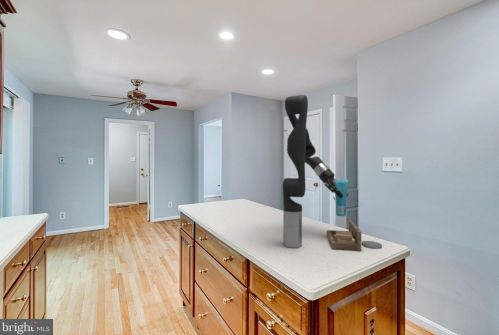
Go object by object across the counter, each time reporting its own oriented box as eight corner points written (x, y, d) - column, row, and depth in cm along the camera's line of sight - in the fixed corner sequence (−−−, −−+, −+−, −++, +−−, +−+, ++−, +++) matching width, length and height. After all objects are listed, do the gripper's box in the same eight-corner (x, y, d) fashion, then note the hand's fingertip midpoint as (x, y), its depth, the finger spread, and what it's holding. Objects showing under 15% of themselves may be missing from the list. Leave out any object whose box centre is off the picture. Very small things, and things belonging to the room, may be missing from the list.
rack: (361, 251, 116) (361, 232, 116) (331, 249, 119) (332, 230, 118) (351, 236, 137) (351, 220, 137) (326, 235, 140) (327, 219, 139)
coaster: (384, 249, 118) (384, 247, 118) (364, 248, 120) (364, 246, 120) (378, 243, 127) (378, 241, 127) (359, 241, 129) (359, 240, 129)
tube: (345, 214, 135) (346, 179, 135) (349, 216, 130) (350, 179, 130) (332, 214, 135) (332, 179, 134) (336, 216, 130) (336, 179, 129)
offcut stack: (355, 249, 119) (355, 236, 118) (336, 248, 120) (336, 235, 120) (351, 243, 127) (351, 231, 127) (333, 242, 129) (333, 230, 129)
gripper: (321, 168, 132) (343, 193, 124) (334, 168, 142) (355, 191, 134) (312, 178, 136) (333, 202, 128) (326, 176, 146) (345, 199, 138)
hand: (344, 196), depth 131 cm, fingers closed on tube, 5 cm apart
